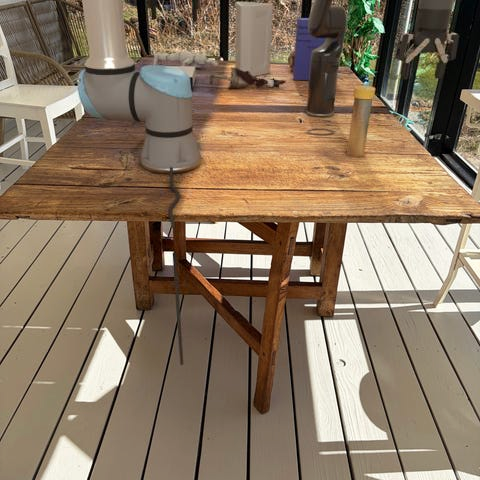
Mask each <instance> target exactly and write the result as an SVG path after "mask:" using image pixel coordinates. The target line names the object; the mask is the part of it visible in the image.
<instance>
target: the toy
mask: <svg viewBox="0 0 480 480" xmlns="http://www.w3.org/2000/svg"><path fill="white" fill-rule="evenodd" d="M163 62H170V63H176V62H177V63H179V64H180V66H191V65H192V64H193V66H195V69H201V66H204V65H207V64H212V65H213V66H214V67H216V68H217V67H218V66H219V63H218V62H217V61H216V60H215V59H213V58H207V56H206V55H205V54H202V53H201V51H197V52H196V53H193V52H190V51H187V50H184V51H177V52H172V53H169V52H160V51H157V52H155V53H154V55H153V65H156V66H158V65H161V64H162V63H163Z"/></svg>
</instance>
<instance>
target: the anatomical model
mask: <svg viewBox="0 0 480 480" xmlns="http://www.w3.org/2000/svg"><path fill="white" fill-rule="evenodd" d="M294 58H295V49H293V51H292V52H291V53H290V54H289V56H288V58H287V63H288V64H289V65H288V66H289V69H291V72H294Z"/></svg>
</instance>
